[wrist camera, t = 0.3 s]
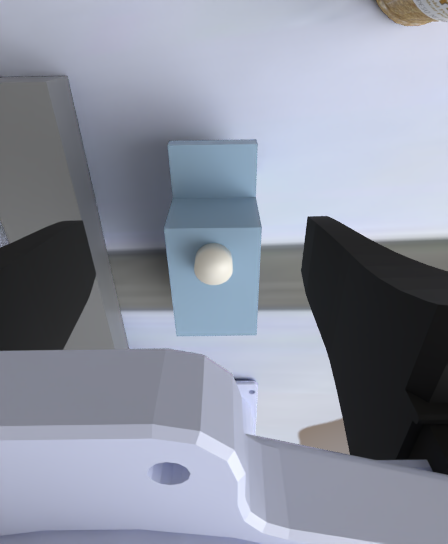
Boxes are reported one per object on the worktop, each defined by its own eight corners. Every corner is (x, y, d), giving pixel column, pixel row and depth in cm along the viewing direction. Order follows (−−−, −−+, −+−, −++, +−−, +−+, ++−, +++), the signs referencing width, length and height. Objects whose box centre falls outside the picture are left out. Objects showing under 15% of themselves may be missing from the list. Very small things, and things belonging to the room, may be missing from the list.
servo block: (247, 295, 25) (256, 381, 19) (189, 296, 25) (179, 382, 19) (252, 127, 19) (266, 173, 13) (175, 128, 19) (152, 175, 13)
